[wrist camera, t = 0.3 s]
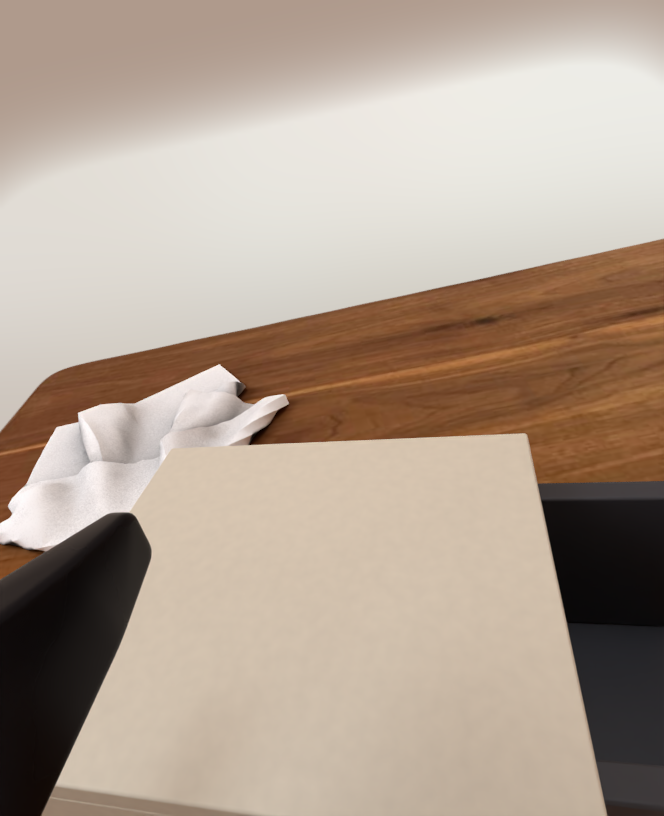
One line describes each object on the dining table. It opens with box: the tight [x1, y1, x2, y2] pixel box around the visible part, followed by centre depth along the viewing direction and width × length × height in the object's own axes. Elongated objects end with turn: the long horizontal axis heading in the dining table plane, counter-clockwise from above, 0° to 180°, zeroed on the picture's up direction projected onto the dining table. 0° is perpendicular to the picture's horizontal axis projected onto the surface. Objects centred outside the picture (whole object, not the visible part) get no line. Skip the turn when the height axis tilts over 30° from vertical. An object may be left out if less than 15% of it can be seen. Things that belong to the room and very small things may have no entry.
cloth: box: [0, 365, 289, 552], centre depth 39 cm, size 20×22×2 cm
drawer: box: [538, 481, 664, 816], centre depth 15 cm, size 17×10×8 cm, turn 80°
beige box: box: [41, 434, 607, 816], centre depth 17 cm, size 14×12×10 cm
